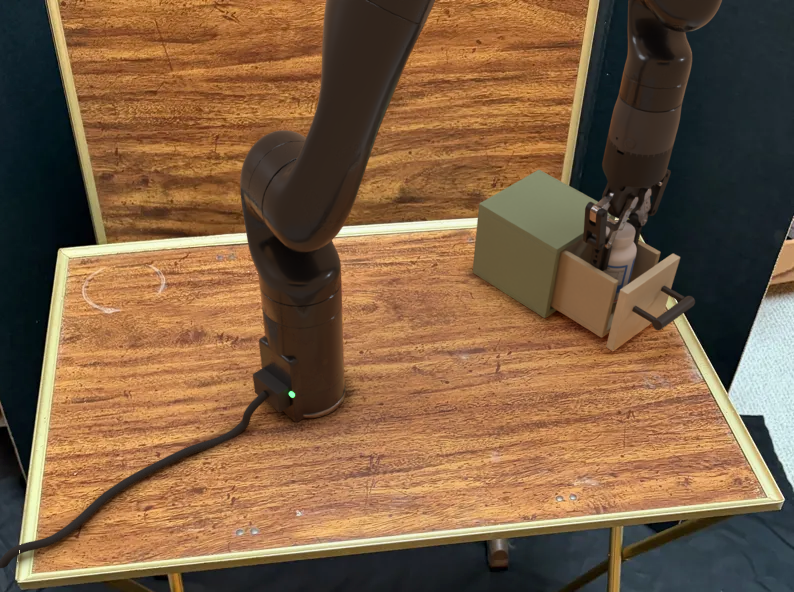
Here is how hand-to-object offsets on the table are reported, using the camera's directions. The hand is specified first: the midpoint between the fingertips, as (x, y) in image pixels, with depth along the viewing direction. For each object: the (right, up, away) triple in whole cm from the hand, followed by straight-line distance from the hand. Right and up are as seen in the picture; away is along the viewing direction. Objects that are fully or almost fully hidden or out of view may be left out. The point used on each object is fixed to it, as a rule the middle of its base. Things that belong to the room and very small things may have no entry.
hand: (613, 257), depth 125 cm
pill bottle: (0, -3, +4) cm, 6 cm away
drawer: (+2, -7, +6) cm, 9 cm away
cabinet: (-8, +1, +12) cm, 15 cm away
